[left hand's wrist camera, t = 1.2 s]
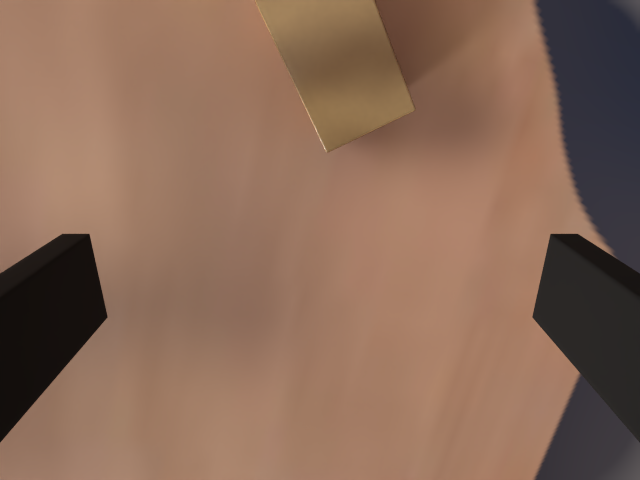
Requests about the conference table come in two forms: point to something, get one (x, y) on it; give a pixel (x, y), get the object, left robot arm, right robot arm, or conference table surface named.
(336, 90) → the post
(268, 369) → the conference table surface
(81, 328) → the left robot arm
